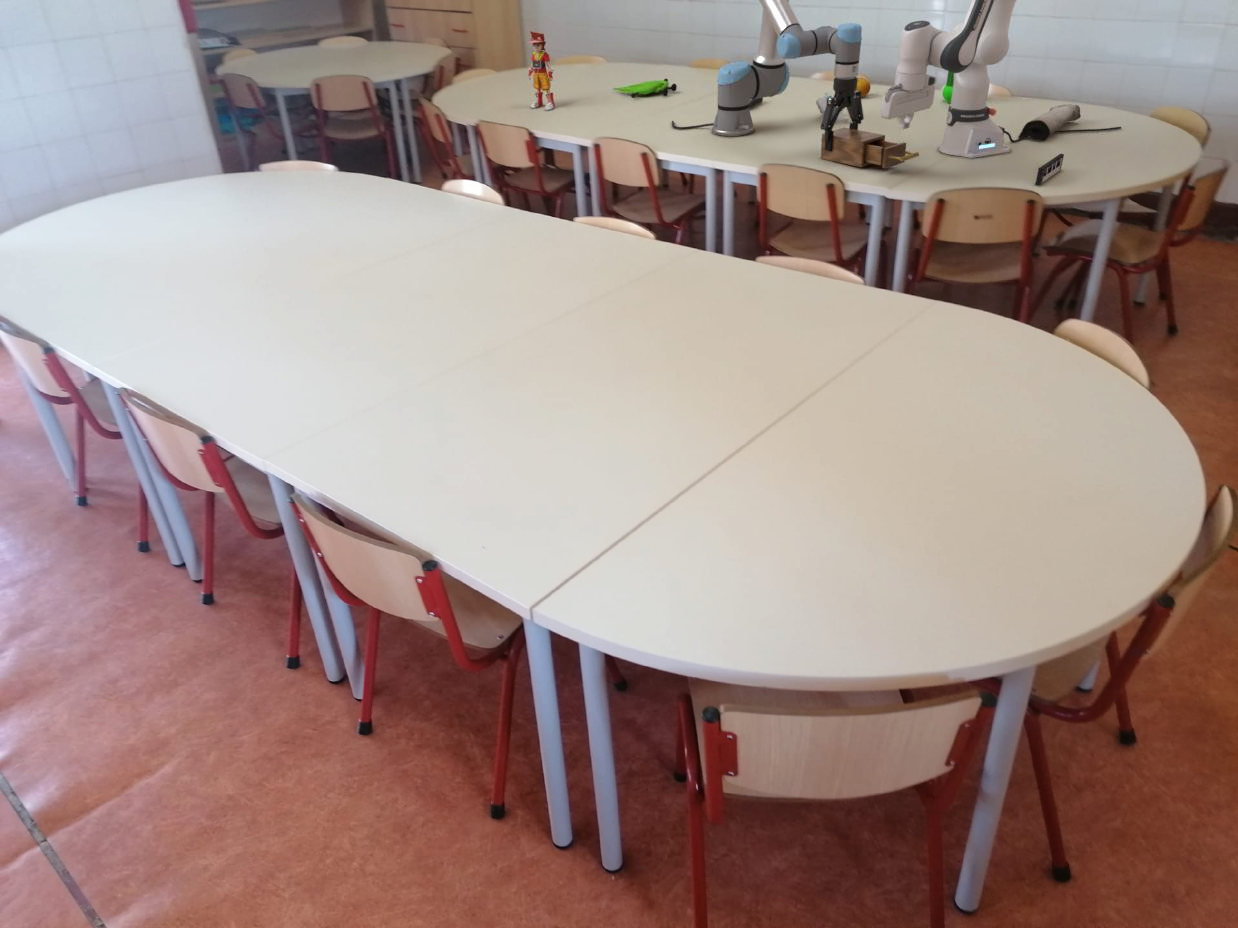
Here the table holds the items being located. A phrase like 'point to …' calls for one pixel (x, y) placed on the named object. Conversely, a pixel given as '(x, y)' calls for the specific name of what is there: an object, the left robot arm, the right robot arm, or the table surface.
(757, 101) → the disk drive
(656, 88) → the toy
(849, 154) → the wooden box
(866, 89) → the fruit
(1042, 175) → the midi keyboard
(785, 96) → the table surface
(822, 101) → the anatomical model
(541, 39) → the toy
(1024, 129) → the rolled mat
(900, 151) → the drawer
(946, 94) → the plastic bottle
